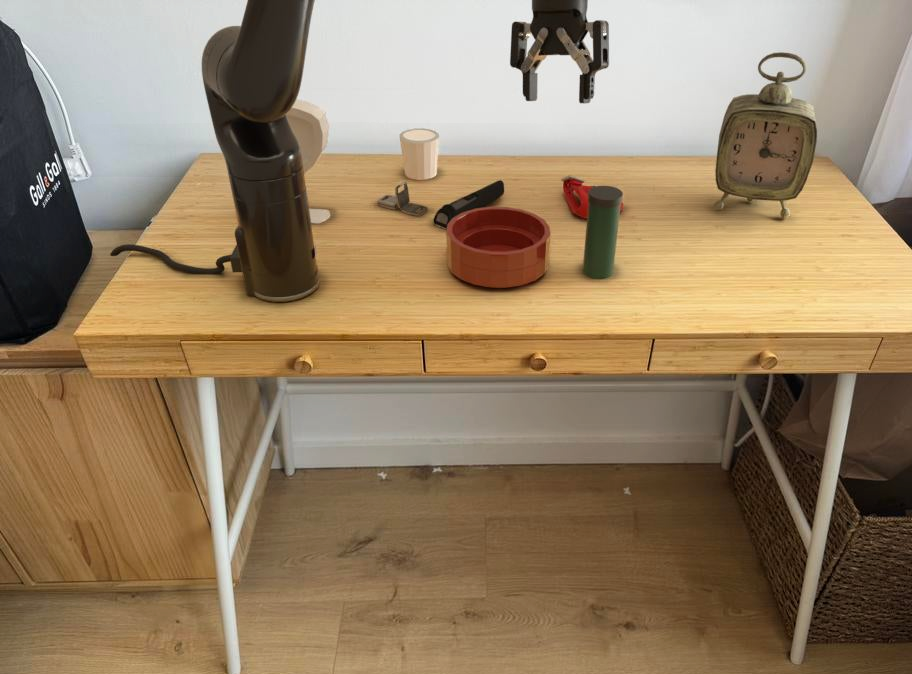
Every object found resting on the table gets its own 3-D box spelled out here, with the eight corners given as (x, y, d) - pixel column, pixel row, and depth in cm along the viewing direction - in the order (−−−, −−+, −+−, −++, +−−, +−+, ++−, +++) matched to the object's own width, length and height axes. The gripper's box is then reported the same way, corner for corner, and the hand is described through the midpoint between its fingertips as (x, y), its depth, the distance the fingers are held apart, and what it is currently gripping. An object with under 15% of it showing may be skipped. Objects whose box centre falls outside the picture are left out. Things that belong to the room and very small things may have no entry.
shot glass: (398, 167, 146) (395, 129, 142) (435, 164, 148) (434, 126, 143) (405, 183, 141) (403, 143, 136) (444, 179, 142) (443, 140, 138)
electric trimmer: (510, 200, 137) (510, 182, 135) (449, 231, 127) (449, 212, 125) (492, 194, 139) (493, 176, 137) (431, 224, 129) (430, 205, 127)
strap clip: (375, 205, 134) (373, 181, 131) (386, 198, 136) (384, 174, 133) (419, 217, 130) (417, 192, 128) (429, 210, 133) (428, 185, 130)
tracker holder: (632, 196, 136) (617, 205, 127) (622, 220, 138) (606, 231, 129) (568, 166, 138) (549, 174, 130) (559, 190, 140) (539, 199, 132)
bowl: (445, 292, 112) (444, 253, 109) (449, 242, 124) (448, 205, 120) (550, 293, 113) (553, 254, 109) (545, 243, 124) (547, 207, 121)
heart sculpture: (235, 218, 128) (212, 104, 118) (245, 205, 132) (224, 93, 122) (332, 224, 128) (318, 109, 117) (339, 210, 132) (327, 98, 121)
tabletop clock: (705, 213, 134) (734, 56, 119) (708, 191, 141) (736, 39, 126) (796, 224, 131) (838, 65, 116) (794, 201, 138) (833, 48, 123)
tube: (583, 279, 116) (590, 199, 109) (580, 263, 120) (586, 185, 112) (615, 279, 116) (625, 200, 109) (612, 263, 120) (620, 185, 113)
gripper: (499, -27, 109) (500, 102, 115) (596, -32, 102) (591, 105, 108) (528, -23, 115) (527, 99, 121) (621, -28, 108) (615, 102, 114)
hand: (557, 102), depth 114 cm, fingers open, 8 cm apart
